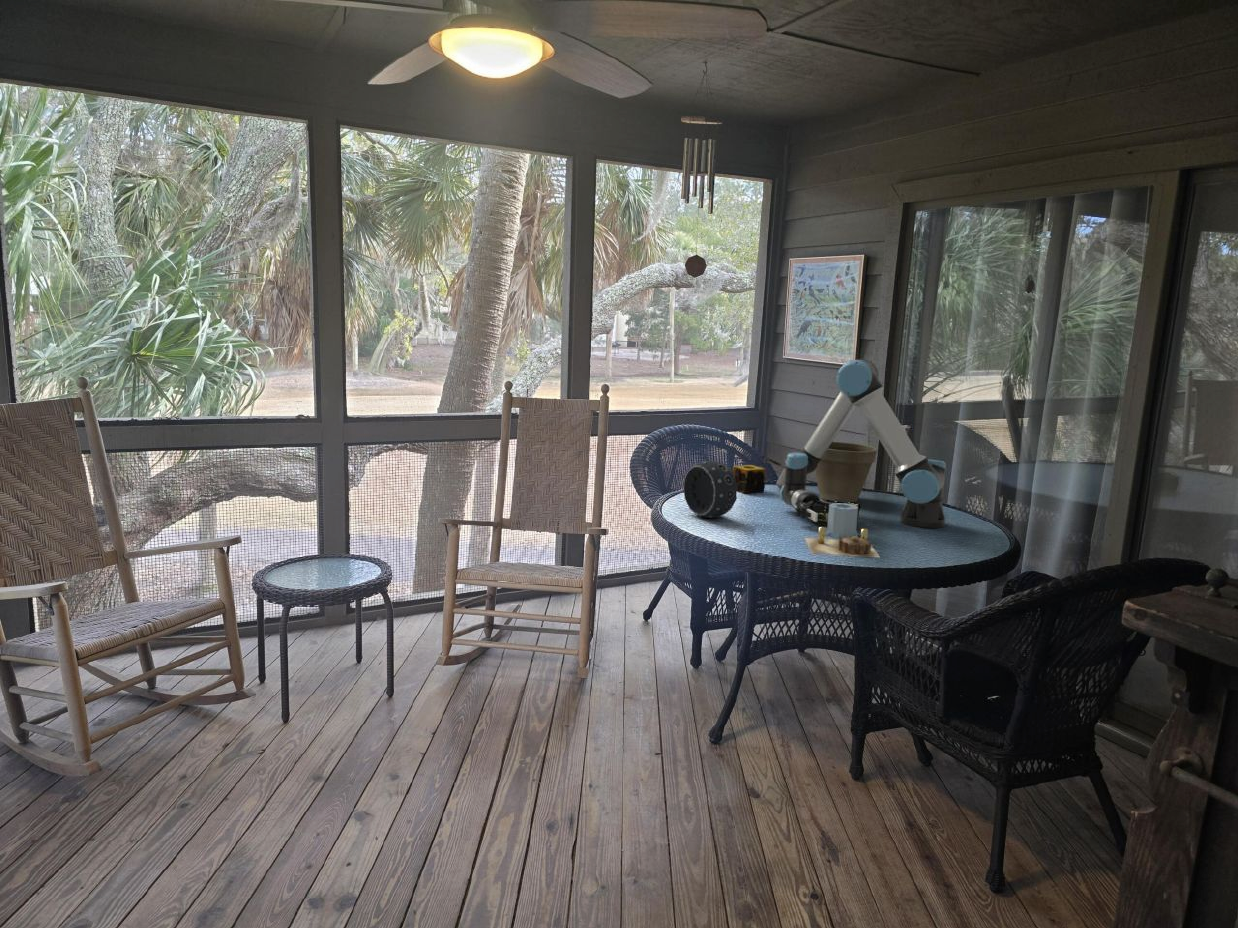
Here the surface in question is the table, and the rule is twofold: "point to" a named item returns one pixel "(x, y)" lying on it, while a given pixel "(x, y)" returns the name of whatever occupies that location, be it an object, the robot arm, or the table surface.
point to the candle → (749, 479)
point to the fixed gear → (854, 545)
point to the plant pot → (844, 471)
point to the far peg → (864, 533)
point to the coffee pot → (782, 477)
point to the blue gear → (842, 520)
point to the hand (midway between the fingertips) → (835, 517)
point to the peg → (821, 535)
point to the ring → (710, 489)
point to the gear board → (832, 548)
